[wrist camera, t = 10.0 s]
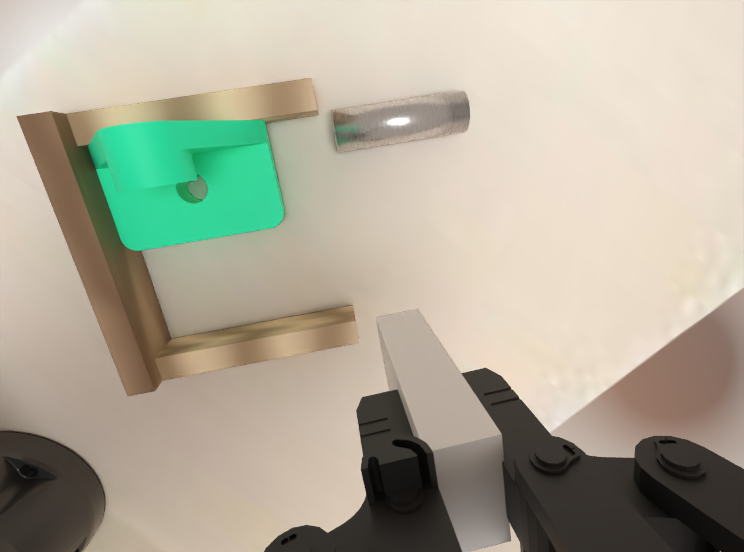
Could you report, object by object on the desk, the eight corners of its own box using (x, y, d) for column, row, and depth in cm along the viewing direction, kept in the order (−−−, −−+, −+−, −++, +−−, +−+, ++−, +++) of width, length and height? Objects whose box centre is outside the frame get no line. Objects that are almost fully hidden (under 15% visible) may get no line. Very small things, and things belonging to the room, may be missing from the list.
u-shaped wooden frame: (154, 363, 35) (127, 396, 30) (67, 123, 29) (16, 116, 24) (356, 325, 36) (360, 351, 31) (313, 86, 30) (310, 73, 25)
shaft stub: (331, 110, 28) (330, 110, 30) (339, 154, 29) (337, 150, 32) (469, 89, 28) (455, 91, 31) (470, 133, 30) (457, 131, 32)
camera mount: (141, 245, 32) (59, 284, 22) (107, 147, 30) (0, 142, 20) (288, 220, 33) (273, 247, 23) (267, 123, 30) (239, 106, 21)
